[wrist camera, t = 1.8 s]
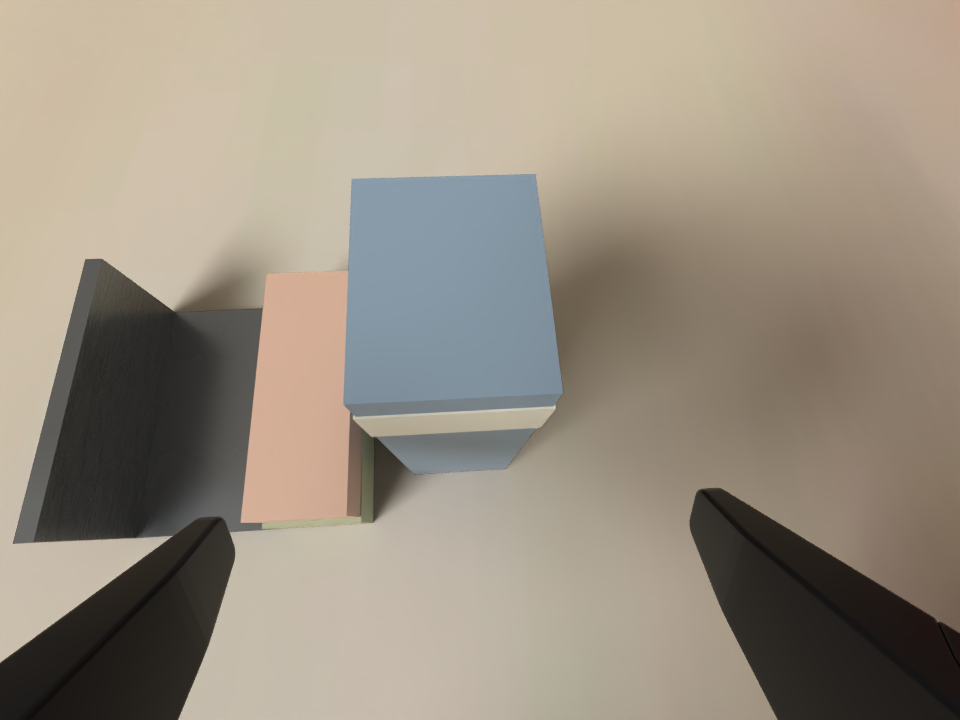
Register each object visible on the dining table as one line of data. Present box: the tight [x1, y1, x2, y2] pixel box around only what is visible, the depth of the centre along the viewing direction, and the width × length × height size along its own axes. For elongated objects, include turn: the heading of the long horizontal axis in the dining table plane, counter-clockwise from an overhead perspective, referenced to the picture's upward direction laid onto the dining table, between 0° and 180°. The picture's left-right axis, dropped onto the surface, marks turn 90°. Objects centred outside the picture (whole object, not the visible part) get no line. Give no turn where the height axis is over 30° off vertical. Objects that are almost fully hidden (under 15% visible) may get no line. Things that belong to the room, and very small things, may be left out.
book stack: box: [241, 271, 375, 529], centre depth 19 cm, size 10×4×4 cm, turn 4°
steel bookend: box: [13, 259, 284, 544], centre depth 18 cm, size 10×6×5 cm, turn 3°
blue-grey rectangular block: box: [343, 174, 563, 474], centre depth 15 cm, size 5×4×12 cm
